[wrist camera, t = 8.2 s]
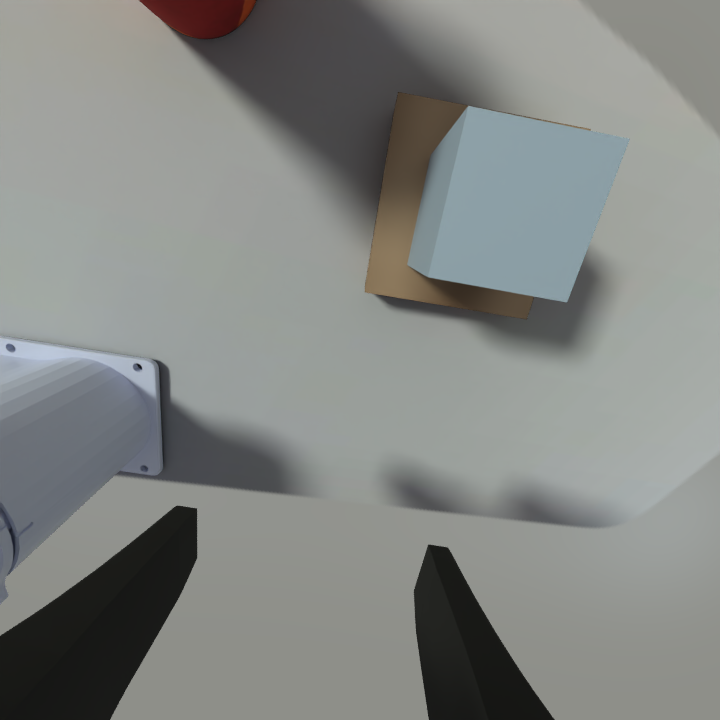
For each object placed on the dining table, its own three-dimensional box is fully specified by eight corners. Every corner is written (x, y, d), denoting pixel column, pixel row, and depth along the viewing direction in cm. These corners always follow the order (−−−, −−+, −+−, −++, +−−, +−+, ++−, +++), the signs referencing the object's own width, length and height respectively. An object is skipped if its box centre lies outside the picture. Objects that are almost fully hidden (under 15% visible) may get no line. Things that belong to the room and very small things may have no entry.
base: (364, 286, 18) (364, 292, 16) (394, 110, 15) (398, 92, 13) (509, 311, 18) (526, 319, 16) (563, 142, 16) (590, 129, 14)
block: (407, 265, 16) (427, 277, 10) (430, 155, 14) (468, 105, 9) (500, 282, 16) (567, 302, 11) (533, 175, 14) (630, 139, 9)
